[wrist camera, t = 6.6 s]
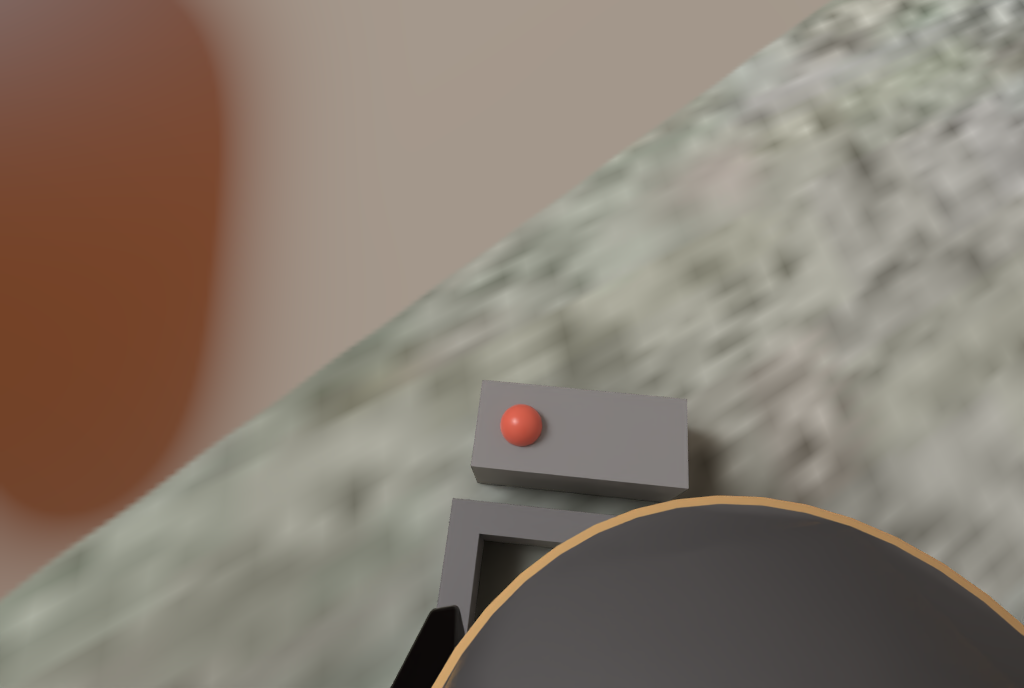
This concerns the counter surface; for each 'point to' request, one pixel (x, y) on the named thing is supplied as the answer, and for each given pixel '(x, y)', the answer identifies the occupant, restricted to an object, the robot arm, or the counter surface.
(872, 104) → the counter surface
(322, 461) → the counter surface
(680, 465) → the tester
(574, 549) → the battery cell
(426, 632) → the robot arm
